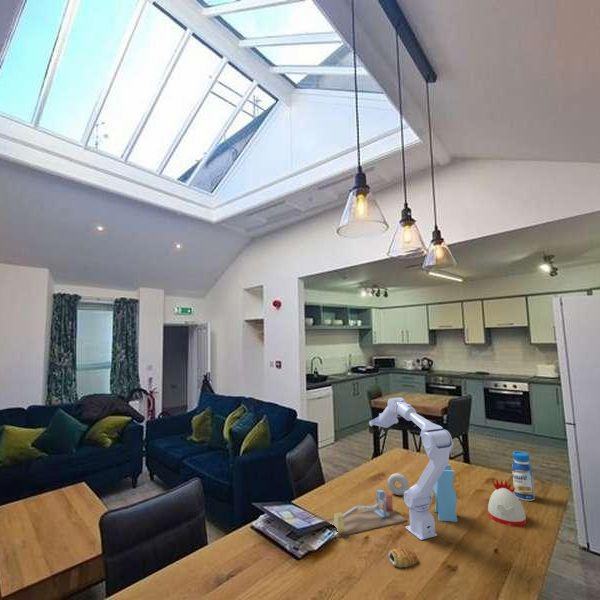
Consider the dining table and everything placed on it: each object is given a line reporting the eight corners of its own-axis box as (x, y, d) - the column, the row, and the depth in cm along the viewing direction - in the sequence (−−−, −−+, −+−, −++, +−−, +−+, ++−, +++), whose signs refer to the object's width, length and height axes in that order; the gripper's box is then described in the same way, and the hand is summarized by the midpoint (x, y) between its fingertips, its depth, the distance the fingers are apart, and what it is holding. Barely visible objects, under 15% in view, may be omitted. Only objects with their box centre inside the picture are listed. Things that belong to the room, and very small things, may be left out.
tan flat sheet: (406, 521, 143) (406, 520, 144) (336, 538, 132) (336, 536, 132) (388, 507, 156) (388, 506, 156) (322, 521, 144) (322, 520, 144)
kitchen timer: (489, 506, 155) (486, 471, 157) (525, 514, 148) (522, 477, 150) (487, 520, 143) (484, 482, 145) (527, 529, 136) (523, 489, 138)
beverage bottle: (539, 499, 161) (535, 454, 163) (527, 502, 158) (523, 457, 160) (522, 492, 169) (518, 449, 171) (510, 495, 166) (506, 452, 168)
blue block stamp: (381, 510, 152) (380, 487, 153) (389, 516, 146) (388, 493, 148) (373, 512, 151) (372, 488, 152) (381, 518, 145) (380, 494, 146)
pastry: (411, 554, 122) (411, 542, 122) (421, 566, 115) (421, 554, 116) (387, 558, 120) (386, 546, 120) (396, 570, 113) (395, 558, 114)
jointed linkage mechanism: (396, 511, 151) (396, 496, 151) (339, 535, 133) (338, 517, 134) (387, 507, 155) (386, 492, 156) (330, 529, 138) (329, 512, 138)
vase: (458, 522, 142) (454, 471, 145) (438, 520, 144) (435, 470, 146) (453, 512, 150) (450, 464, 152) (434, 511, 152) (431, 463, 154)
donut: (409, 495, 168) (408, 473, 169) (408, 498, 165) (407, 476, 166) (388, 492, 172) (387, 471, 173) (387, 494, 168) (386, 473, 170)
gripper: (398, 406, 163) (386, 422, 171) (371, 409, 158) (360, 424, 166) (404, 420, 158) (392, 435, 166) (377, 423, 153) (366, 438, 161)
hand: (376, 431), depth 166 cm, fingers open, 7 cm apart
